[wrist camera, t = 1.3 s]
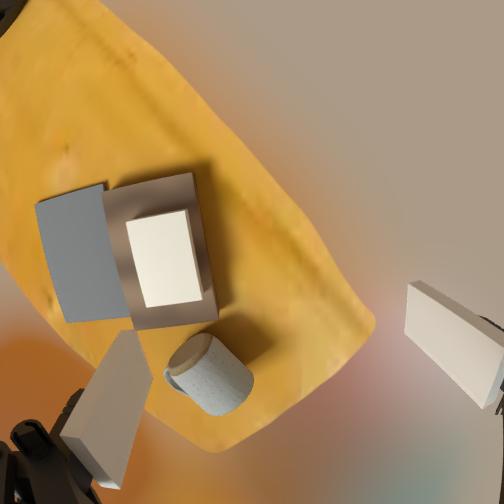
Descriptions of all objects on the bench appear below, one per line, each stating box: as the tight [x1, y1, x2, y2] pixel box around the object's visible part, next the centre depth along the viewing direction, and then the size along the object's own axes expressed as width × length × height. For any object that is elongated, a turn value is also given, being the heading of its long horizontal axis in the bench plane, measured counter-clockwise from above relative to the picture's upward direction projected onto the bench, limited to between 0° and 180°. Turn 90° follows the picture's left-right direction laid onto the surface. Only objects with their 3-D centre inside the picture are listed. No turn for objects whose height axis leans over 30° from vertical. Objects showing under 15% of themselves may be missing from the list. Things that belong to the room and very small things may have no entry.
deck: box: [101, 172, 219, 330], centre depth 31 cm, size 16×10×2 cm, turn 8°
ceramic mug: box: [164, 333, 254, 416], centre depth 32 cm, size 11×8×8 cm
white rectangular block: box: [126, 209, 204, 308], centre depth 29 cm, size 9×6×2 cm, turn 8°
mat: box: [35, 184, 131, 323], centre depth 31 cm, size 16×10×1 cm, turn 8°
